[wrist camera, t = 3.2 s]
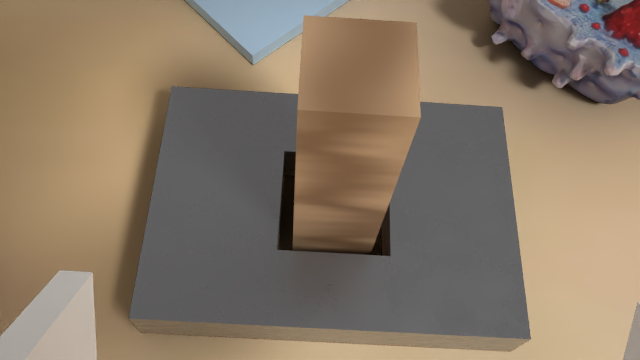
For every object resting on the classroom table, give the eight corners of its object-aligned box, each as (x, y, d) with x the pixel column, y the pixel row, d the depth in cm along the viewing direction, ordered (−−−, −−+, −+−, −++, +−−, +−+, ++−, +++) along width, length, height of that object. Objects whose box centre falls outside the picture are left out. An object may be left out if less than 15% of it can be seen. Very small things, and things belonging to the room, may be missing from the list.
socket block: (487, 133, 39) (502, 107, 36) (510, 351, 33) (530, 339, 30) (179, 114, 38) (171, 86, 36) (141, 332, 32) (128, 318, 29)
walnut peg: (368, 192, 37) (416, 22, 23) (368, 260, 35) (420, 117, 21) (296, 188, 36) (303, 15, 23) (292, 256, 34) (297, 109, 21)
